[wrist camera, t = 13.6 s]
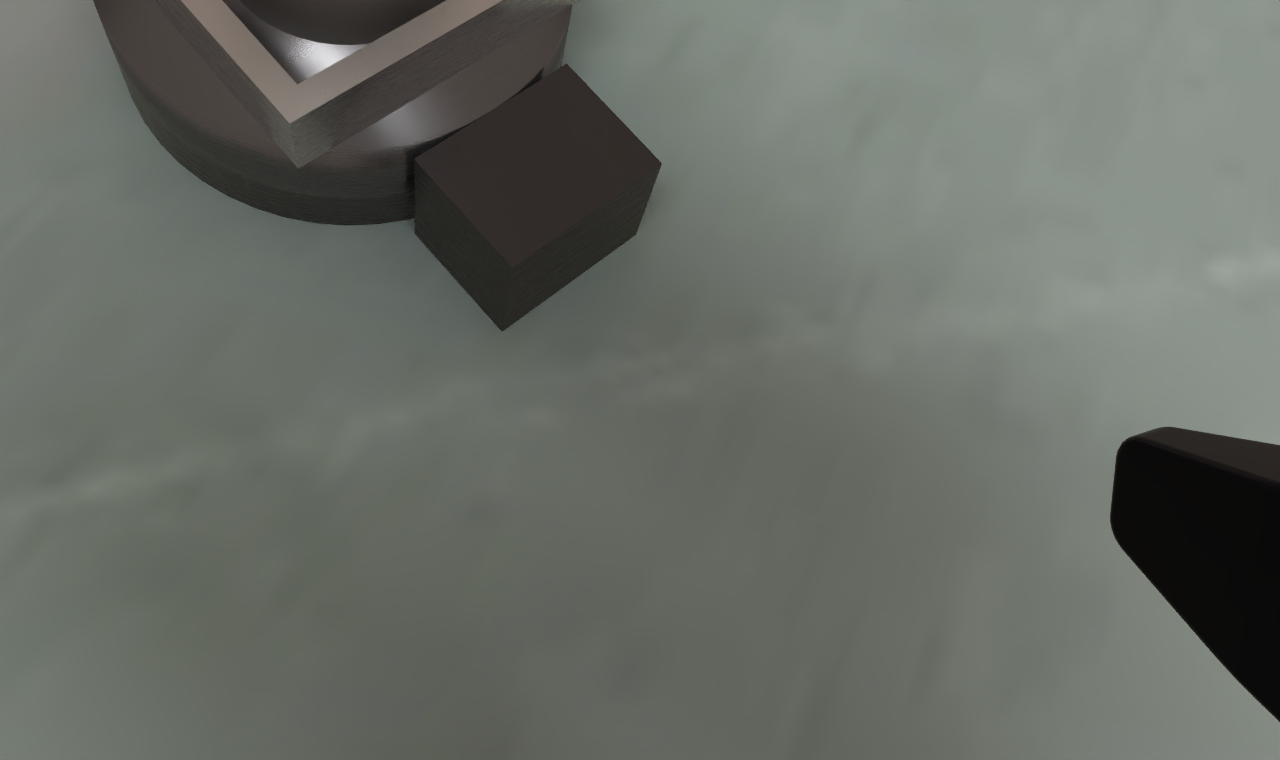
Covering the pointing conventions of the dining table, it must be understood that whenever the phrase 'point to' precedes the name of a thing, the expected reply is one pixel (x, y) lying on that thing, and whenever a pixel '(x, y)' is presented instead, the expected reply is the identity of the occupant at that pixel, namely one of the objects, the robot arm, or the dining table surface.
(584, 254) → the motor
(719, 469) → the dining table surface
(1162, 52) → the dining table surface
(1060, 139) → the dining table surface
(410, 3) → the beige teal capped bottle
